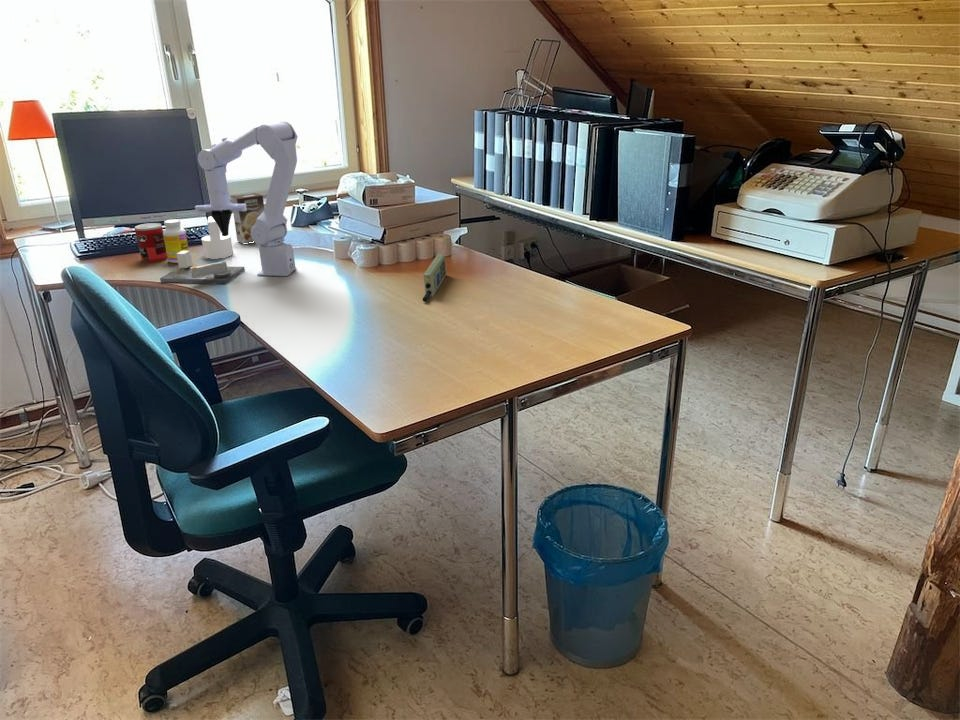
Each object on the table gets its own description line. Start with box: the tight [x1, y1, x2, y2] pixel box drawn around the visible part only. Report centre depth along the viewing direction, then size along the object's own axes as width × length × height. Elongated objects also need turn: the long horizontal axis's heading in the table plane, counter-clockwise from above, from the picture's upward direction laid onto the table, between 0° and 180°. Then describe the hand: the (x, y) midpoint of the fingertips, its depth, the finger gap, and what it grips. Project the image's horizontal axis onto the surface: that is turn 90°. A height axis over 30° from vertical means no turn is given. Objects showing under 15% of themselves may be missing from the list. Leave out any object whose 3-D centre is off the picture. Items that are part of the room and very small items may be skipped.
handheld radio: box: [422, 253, 447, 303], centre depth 194 cm, size 7×3×25 cm
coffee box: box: [230, 192, 265, 244], centre depth 241 cm, size 9×6×16 cm
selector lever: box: [190, 260, 231, 278], centre depth 202 cm, size 11×5×4 cm, turn 131°
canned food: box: [134, 222, 168, 263], centre depth 223 cm, size 8×8×11 cm
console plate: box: [159, 265, 246, 285], centre depth 208 cm, size 20×13×1 cm, turn 83°
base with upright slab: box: [201, 216, 234, 260], centre depth 226 cm, size 9×9×12 cm
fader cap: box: [177, 250, 194, 268], centre depth 211 cm, size 2×4×4 cm, turn 173°
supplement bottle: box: [163, 219, 190, 264], centre depth 221 cm, size 7×7×13 cm
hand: (225, 235), depth 213 cm, fingers closed
